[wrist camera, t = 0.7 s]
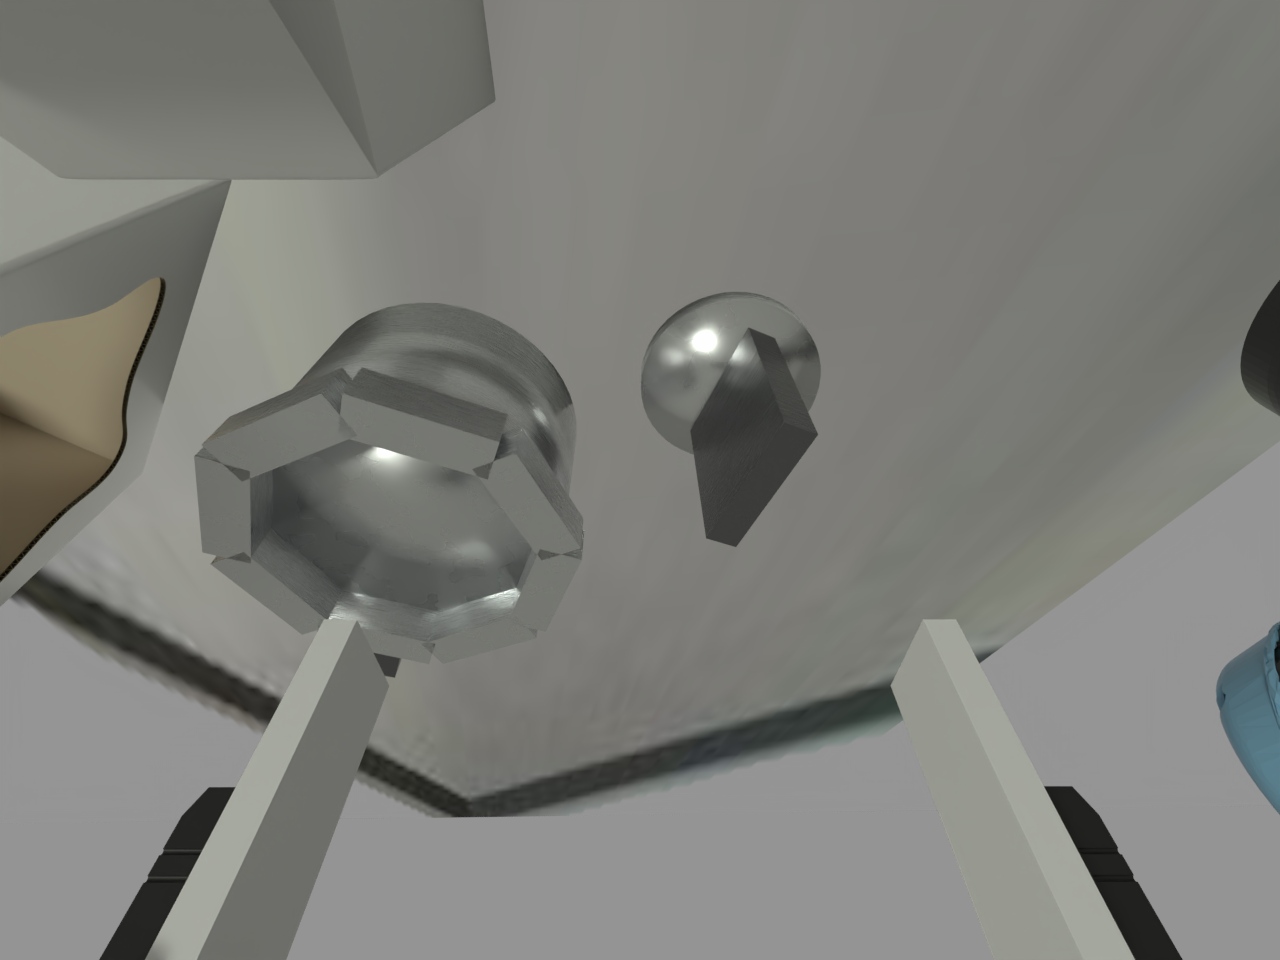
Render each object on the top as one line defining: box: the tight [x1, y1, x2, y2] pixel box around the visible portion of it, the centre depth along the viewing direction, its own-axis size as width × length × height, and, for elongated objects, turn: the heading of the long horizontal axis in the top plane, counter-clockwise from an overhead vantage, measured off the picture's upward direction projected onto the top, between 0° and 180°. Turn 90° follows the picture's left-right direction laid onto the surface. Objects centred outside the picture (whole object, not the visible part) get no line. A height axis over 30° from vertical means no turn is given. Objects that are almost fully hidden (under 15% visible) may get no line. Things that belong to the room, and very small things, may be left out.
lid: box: [641, 292, 821, 547], centre depth 29 cm, size 10×10×10 cm
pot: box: [194, 302, 584, 678], centre depth 32 cm, size 16×22×11 cm
